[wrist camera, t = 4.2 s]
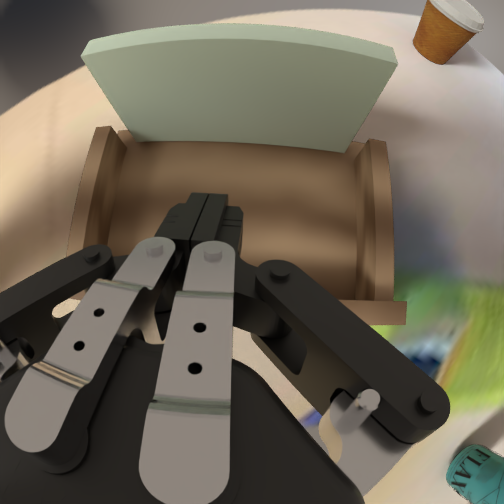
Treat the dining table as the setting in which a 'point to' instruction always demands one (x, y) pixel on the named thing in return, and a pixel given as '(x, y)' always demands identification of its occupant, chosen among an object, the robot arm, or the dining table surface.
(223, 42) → the panel
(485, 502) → the beverage bottle
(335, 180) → the drawer box
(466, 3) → the disposable coffee cup
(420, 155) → the dining table surface
